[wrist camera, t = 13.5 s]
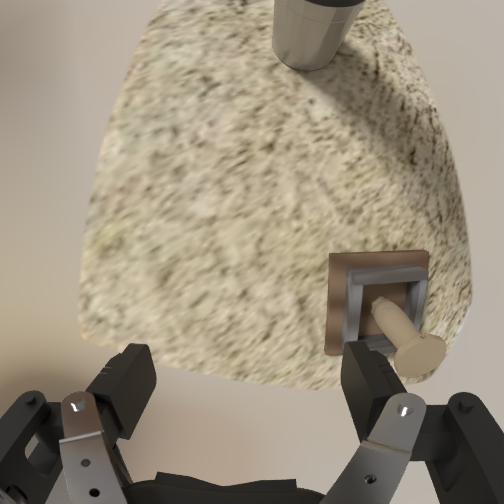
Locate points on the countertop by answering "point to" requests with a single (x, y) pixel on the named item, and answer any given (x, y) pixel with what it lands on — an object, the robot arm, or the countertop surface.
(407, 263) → the socket block
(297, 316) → the countertop surface
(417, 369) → the handle
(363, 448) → the robot arm
